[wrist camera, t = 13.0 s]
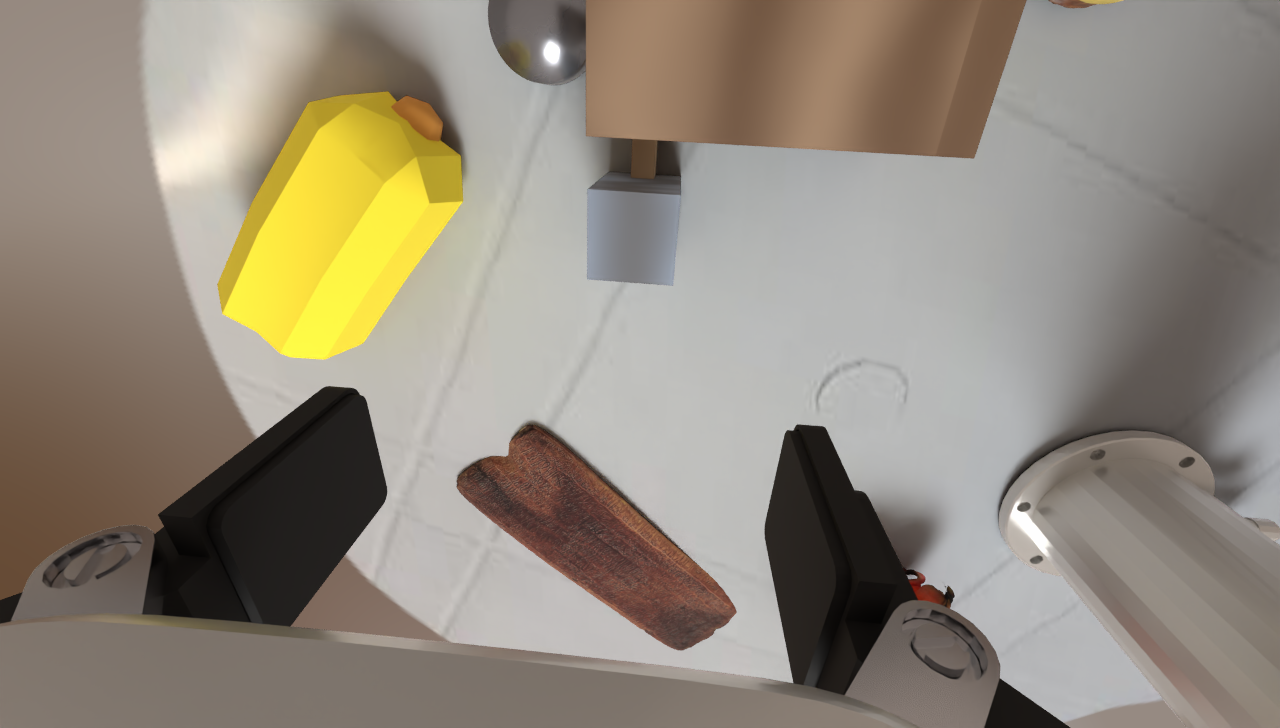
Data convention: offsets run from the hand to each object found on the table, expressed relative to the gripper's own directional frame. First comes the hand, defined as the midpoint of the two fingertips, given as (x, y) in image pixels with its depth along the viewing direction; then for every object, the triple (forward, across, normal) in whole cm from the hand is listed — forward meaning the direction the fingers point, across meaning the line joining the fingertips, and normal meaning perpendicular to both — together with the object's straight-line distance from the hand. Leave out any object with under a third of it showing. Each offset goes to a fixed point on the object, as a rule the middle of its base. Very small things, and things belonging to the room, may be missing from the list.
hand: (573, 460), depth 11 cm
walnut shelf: (+20, -6, -10) cm, 24 cm away
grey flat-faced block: (+20, 0, -6) cm, 21 cm away
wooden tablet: (+21, +1, +26) cm, 33 cm away
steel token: (+20, +5, -10) cm, 24 cm away
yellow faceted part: (+21, +17, 0) cm, 27 cm away
